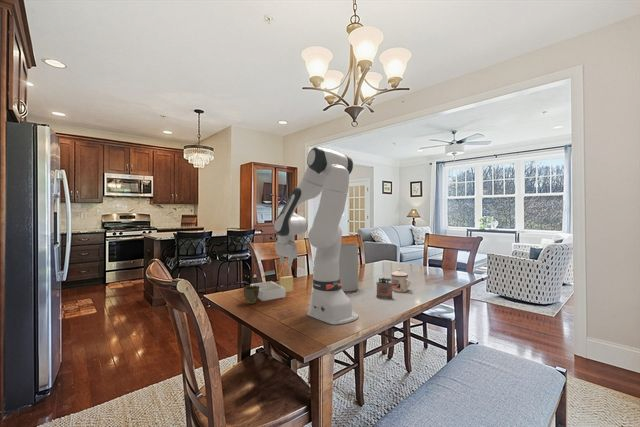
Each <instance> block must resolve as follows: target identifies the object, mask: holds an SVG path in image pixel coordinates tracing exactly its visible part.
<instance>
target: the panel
mask: <svg viewBox="0 0 640 427" xmlns="http://www.w3.org/2000/svg"><path fill="white" fill-rule="evenodd" d="M278 278H279V280H278V282H279V283H278V285H280V286H282V287H284V288H285V293H290V292H294V276H293V275H288V276H280V277H278Z"/></svg>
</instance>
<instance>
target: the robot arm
mask: <svg viewBox="0 0 640 427" xmlns="http://www.w3.org/2000/svg"><path fill="white" fill-rule="evenodd" d="M306 164H307V168H306V170H305V171H304V174H303V177H302V179H301V181H300V183H299V184H298V185H297V186H296V187H295V188H294V189H292V191H291V193H290V194H289V196H288V198H287V200H286V202H285V204H284V205H283V208H282V209H281V211H280V212H279V214H278V216H277V217H276V219H275V220H274V222H273V230H274V232H275V233H276V234H277V236H276V237H274V241H275V253H276V254H277V255H278V257H279V261H280V264H284V263H285V259H284V257H286V258H288V262H287V266H288V267H292V266H293V261H294V259H297V258H298V247H297V244H296V241H295V236H296V235H302V234H305V233H306V232H307V230H308V227H309V226H308V220H307V219H306V218H305V216H301V215H299V214H298V213H296V209H297V207H299V205H300V204H302V203H304V202H306V201H308V200H313V199H315V198H317V197H318V196H320V199H319V204H318V207H317V211H316V214H315V216H314V219H313V223H312V226H311V228H310V229H309V230H308V235H307V239H308V241H309V244H310V245H311V246H312V247H314V248H316V252H315V256H314V259H313V279H312V292H311V294H310V298H309V299H310V300H309V301H310V302H309V310H308V311H307V316H309V317H311V318H314V319H317V320H319V321H321V322H325V323H327V324H329V325H340V324H346V323H350V322H353V321H356V320H357V319H359V315H358V314H357V313H356V312H354V310H353V304H352V301H351V298H348V296H347V295H346V293H345V292H344V291H343V290H342V289H341V288H342V286H343V285H341V284H343V283H341V282H340V279H339V257H340V249H341V244H342V238H343V230H342V228H341V226H340V223H341V219H342V216H343V214H344V212H345V207H346V203H347V198H348V194H349V193H348V192H349V187H350V185H349V184H350V174H351V173H352V172H353V168H354V162H353V159H352V158H351V157H349V156H348V155H347V154H343V153H340V152H337V151H335V150H332V149H328V148H324V147H320V146H317V147H313V148H311V150H309V152H308V154H307V158H306ZM320 194H321V195H320Z"/></svg>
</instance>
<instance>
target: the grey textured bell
mask: <svg viewBox="0 0 640 427" xmlns="http://www.w3.org/2000/svg"><path fill="white" fill-rule="evenodd" d="M258 295H259V286H256V285H253V287H252V285H251V287H250V285H245V286H244V287H243V296H244V299H245V300H246V301H247V304H248V305H254V304H255V303H256V300H257V299H259V298H258Z"/></svg>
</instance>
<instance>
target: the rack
mask: <svg viewBox="0 0 640 427" xmlns="http://www.w3.org/2000/svg"><path fill="white" fill-rule="evenodd" d="M251 285H252V287H253V285H256V286H259V295H258V298H257V299H259V300H260V301H261V302H264V301H271V300H276V299H281V298H286V292H285V288H284V287H282V286H280V285H279V283H276V282H274V281H272V280H271V281H265V282H264V281H263V282H256V283H250V285H249V286H250V287H251Z"/></svg>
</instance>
